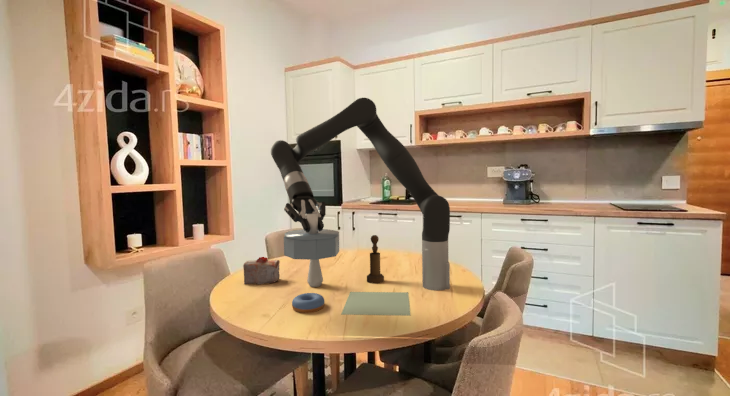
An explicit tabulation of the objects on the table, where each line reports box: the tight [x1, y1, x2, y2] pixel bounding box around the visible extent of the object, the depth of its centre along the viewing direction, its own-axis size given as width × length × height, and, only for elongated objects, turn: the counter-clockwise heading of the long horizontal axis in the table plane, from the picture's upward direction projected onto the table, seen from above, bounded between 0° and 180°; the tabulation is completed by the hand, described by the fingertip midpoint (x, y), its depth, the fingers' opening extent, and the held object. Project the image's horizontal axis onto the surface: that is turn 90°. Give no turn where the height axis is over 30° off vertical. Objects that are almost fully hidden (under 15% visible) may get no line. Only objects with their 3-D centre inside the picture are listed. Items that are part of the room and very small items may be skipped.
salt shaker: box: [307, 259, 324, 288], centre depth 128 cm, size 6×6×13 cm
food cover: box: [283, 213, 340, 261], centre depth 105 cm, size 16×16×12 cm
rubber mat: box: [340, 291, 411, 317], centre depth 109 cm, size 20×20×1 cm
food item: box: [242, 256, 281, 285], centre depth 135 cm, size 14×8×10 cm, turn 93°
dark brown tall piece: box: [366, 234, 385, 285], centre depth 132 cm, size 7×6×18 cm
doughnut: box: [291, 292, 325, 314], centre depth 107 cm, size 10×10×5 cm
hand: (315, 229), depth 104 cm, fingers closed on food cover, 3 cm apart
